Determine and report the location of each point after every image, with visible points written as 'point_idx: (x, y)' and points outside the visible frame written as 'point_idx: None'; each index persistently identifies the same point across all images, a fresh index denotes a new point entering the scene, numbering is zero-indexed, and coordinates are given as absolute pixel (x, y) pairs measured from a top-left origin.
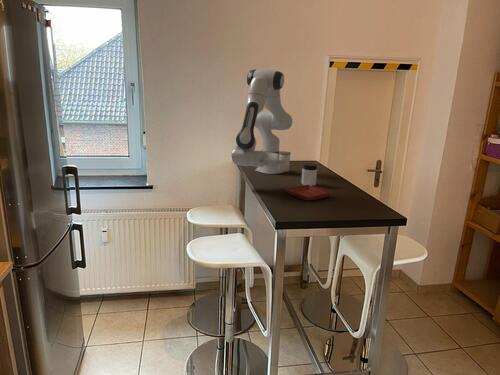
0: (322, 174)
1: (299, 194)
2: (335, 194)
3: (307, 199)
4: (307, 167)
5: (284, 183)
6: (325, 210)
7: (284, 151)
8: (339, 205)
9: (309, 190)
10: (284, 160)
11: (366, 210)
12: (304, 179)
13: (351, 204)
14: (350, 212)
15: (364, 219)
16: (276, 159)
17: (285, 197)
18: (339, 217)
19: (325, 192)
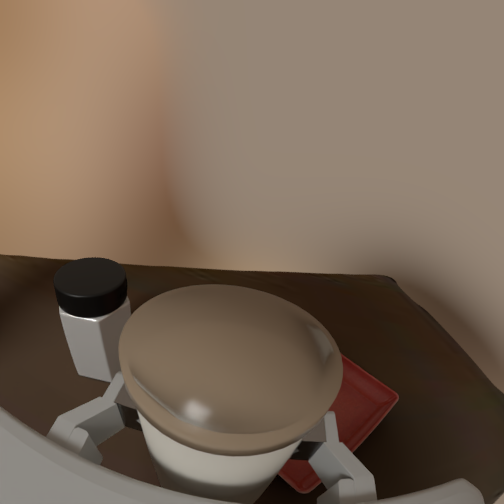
0: (15, 274)
1: (373, 428)
2: None
3: (382, 407)
4: (112, 299)
5: None
6: (431, 369)
7: (135, 327)
8: (371, 337)
9: None
10: (335, 419)
11: (376, 302)
12: (112, 359)
13: (347, 314)
14: (409, 327)
15: (430, 316)
16: (427, 493)
17: None
18: (451, 348)
19: None
